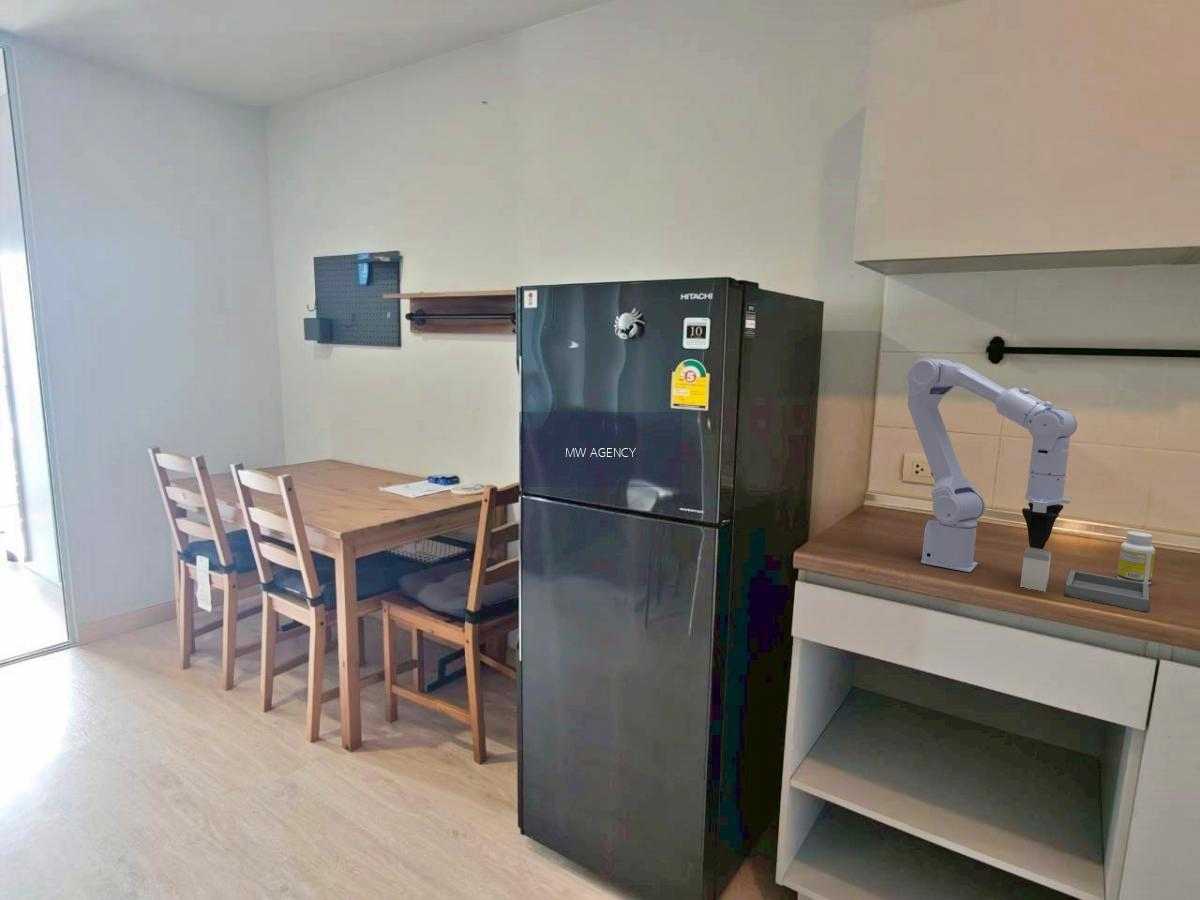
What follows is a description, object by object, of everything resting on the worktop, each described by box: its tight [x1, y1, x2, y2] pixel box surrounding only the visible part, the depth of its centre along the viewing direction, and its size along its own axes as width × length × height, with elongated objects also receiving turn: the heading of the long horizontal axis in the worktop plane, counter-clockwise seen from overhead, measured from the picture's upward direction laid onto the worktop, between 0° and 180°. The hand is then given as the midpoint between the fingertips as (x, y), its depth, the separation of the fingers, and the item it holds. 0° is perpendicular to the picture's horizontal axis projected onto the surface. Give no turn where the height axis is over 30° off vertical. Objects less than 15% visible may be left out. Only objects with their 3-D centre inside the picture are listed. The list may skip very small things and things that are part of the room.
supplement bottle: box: [1116, 530, 1156, 586], centre depth 135 cm, size 5×5×10 cm
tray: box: [1063, 569, 1150, 613], centre depth 126 cm, size 12×12×2 cm
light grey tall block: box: [1019, 547, 1052, 593], centre depth 129 cm, size 4×4×7 cm
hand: (1039, 544), depth 128 cm, fingers open, 7 cm apart
